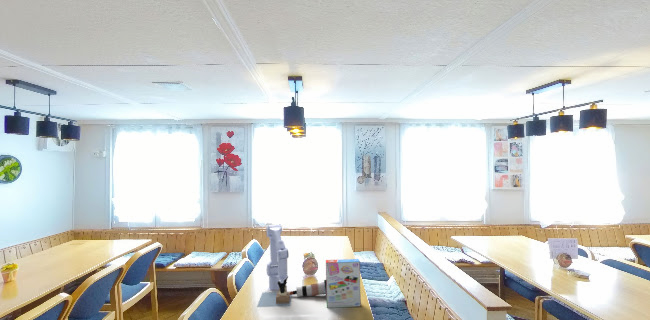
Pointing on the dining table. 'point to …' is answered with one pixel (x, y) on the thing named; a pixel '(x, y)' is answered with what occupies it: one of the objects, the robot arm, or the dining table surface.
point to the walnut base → (283, 298)
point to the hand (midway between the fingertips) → (283, 290)
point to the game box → (343, 283)
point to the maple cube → (284, 292)
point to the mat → (271, 300)
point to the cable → (310, 290)
